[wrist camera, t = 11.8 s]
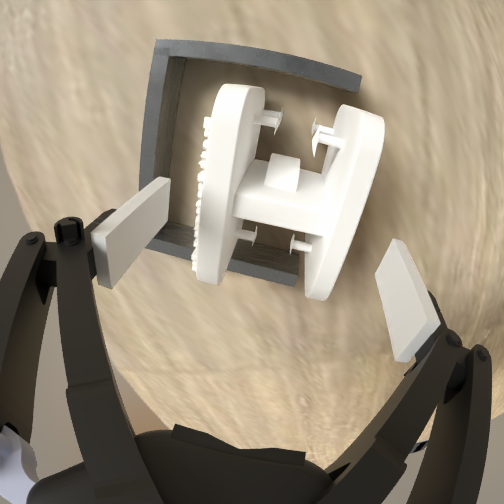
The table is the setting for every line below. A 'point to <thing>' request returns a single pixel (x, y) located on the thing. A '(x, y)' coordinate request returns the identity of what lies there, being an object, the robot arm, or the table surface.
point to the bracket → (162, 129)
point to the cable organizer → (282, 186)
